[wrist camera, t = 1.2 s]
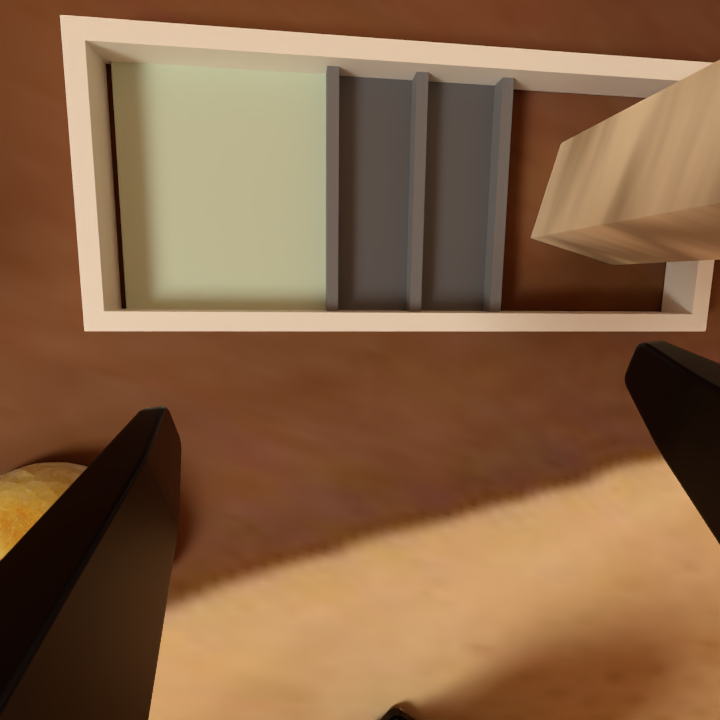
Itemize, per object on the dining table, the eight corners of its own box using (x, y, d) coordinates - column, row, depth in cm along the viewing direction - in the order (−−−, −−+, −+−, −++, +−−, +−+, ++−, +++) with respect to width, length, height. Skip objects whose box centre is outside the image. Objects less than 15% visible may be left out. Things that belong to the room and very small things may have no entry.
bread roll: (193, 530, 24) (172, 579, 20) (64, 654, 24) (18, 726, 20) (58, 415, 22) (6, 444, 18) (-80, 548, 22) (-160, 605, 19)
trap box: (701, 82, 23) (738, 64, 21) (673, 327, 25) (705, 331, 23) (83, 41, 20) (59, 15, 18) (104, 326, 22) (84, 330, 20)
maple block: (644, 173, 24) (988, 66, 12) (612, 265, 24) (911, 250, 12) (561, 143, 23) (839, -4, 11) (530, 237, 23) (764, 194, 12)
